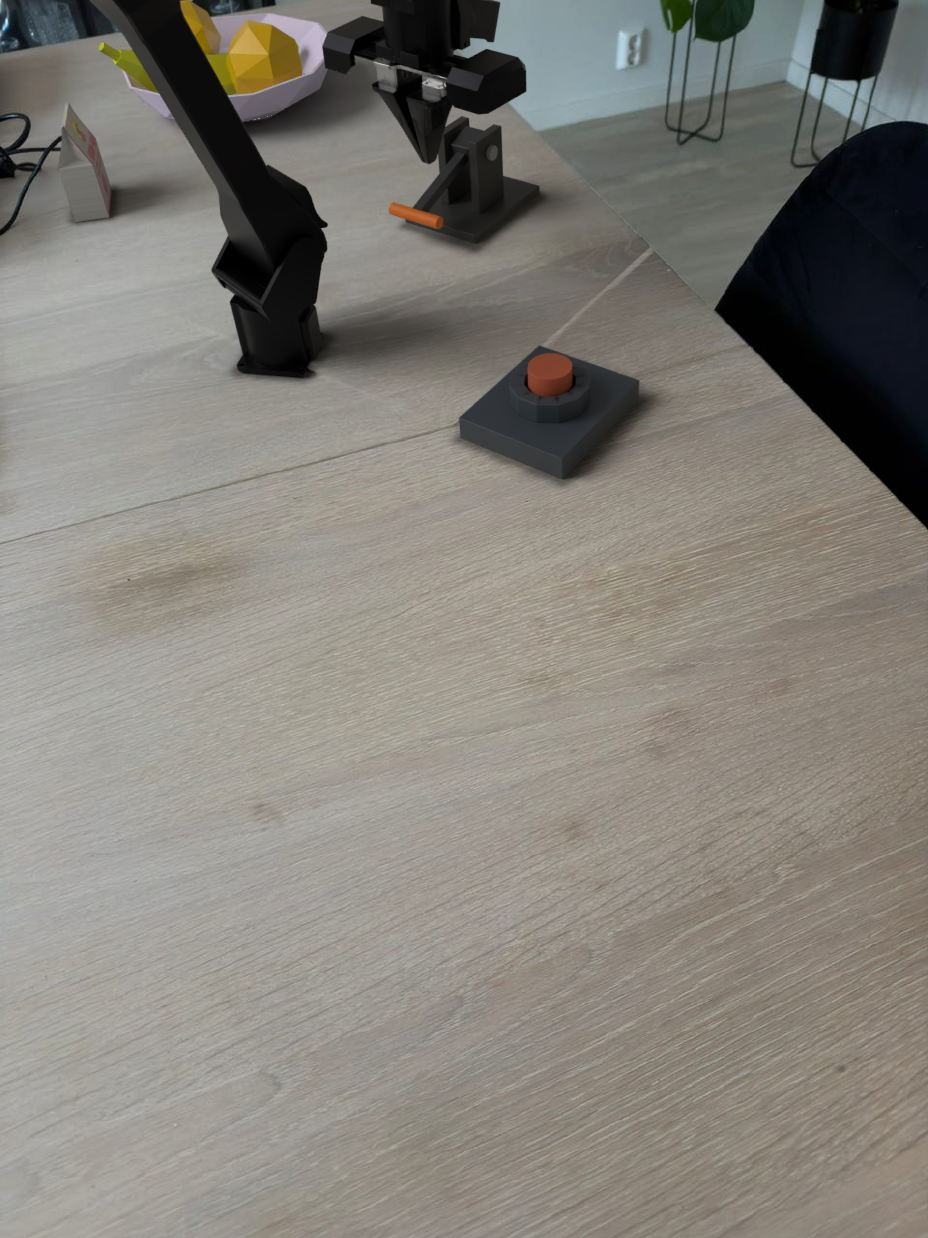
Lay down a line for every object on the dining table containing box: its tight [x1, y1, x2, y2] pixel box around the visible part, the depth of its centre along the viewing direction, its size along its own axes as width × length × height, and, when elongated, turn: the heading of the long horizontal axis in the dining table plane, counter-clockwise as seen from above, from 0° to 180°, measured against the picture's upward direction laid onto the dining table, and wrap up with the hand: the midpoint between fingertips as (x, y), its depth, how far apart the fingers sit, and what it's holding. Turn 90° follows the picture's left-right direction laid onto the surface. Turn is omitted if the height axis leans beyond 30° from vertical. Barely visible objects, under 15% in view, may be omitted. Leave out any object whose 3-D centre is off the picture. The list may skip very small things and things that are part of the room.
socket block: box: [458, 344, 640, 480], centre depth 90 cm, size 12×10×4 cm
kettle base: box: [404, 115, 541, 245], centre depth 113 cm, size 12×9×9 cm
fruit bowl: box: [97, 0, 329, 123], centre depth 135 cm, size 28×27×11 cm
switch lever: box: [388, 126, 484, 229], centre depth 110 cm, size 12×6×2 cm, turn 144°
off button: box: [528, 353, 573, 396], centre depth 88 cm, size 4×4×2 cm
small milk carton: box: [56, 101, 113, 223], centre depth 119 cm, size 4×7×10 cm, turn 10°
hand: (429, 161), depth 99 cm, fingers closed
